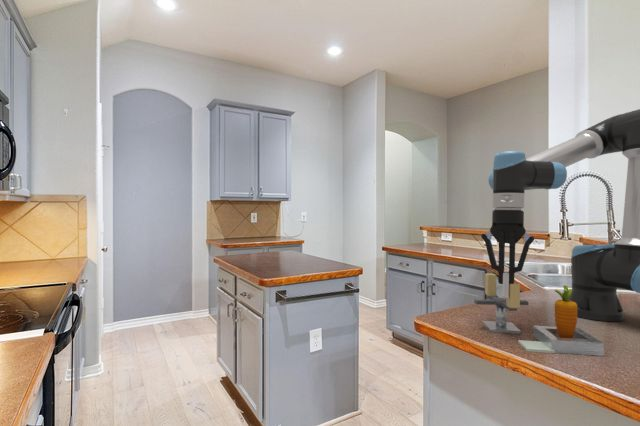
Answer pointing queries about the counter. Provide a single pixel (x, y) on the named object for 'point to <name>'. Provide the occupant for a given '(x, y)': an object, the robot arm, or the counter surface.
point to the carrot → (565, 314)
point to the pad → (535, 346)
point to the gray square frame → (569, 341)
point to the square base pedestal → (501, 323)
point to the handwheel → (508, 303)
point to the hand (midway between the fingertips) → (505, 296)
